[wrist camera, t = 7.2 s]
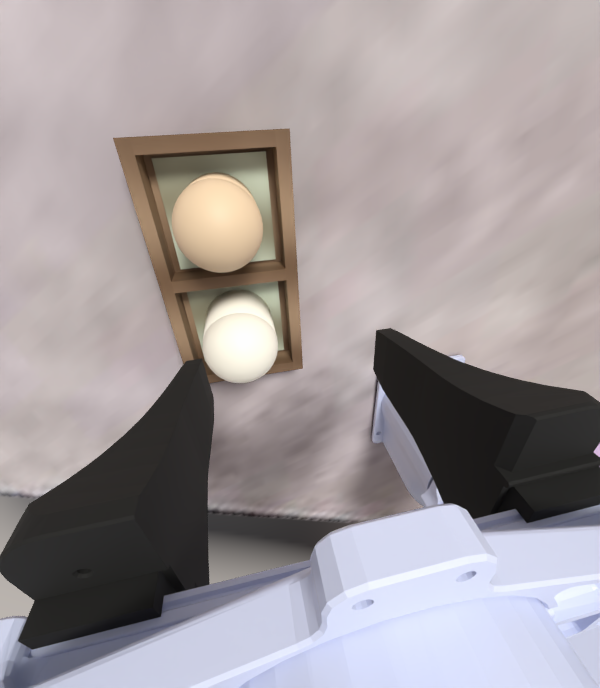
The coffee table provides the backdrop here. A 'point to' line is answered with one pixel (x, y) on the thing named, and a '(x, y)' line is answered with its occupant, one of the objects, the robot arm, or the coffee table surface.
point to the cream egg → (239, 337)
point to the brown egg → (217, 223)
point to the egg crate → (197, 283)
